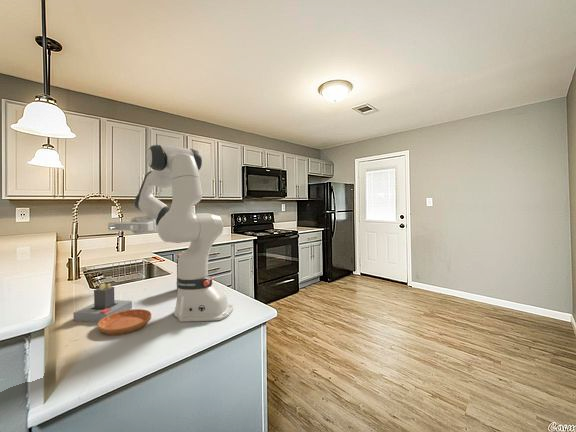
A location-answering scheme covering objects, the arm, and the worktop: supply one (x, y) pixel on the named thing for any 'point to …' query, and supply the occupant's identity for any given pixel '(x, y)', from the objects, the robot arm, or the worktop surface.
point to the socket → (100, 311)
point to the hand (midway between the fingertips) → (119, 227)
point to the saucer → (124, 321)
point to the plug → (104, 297)
